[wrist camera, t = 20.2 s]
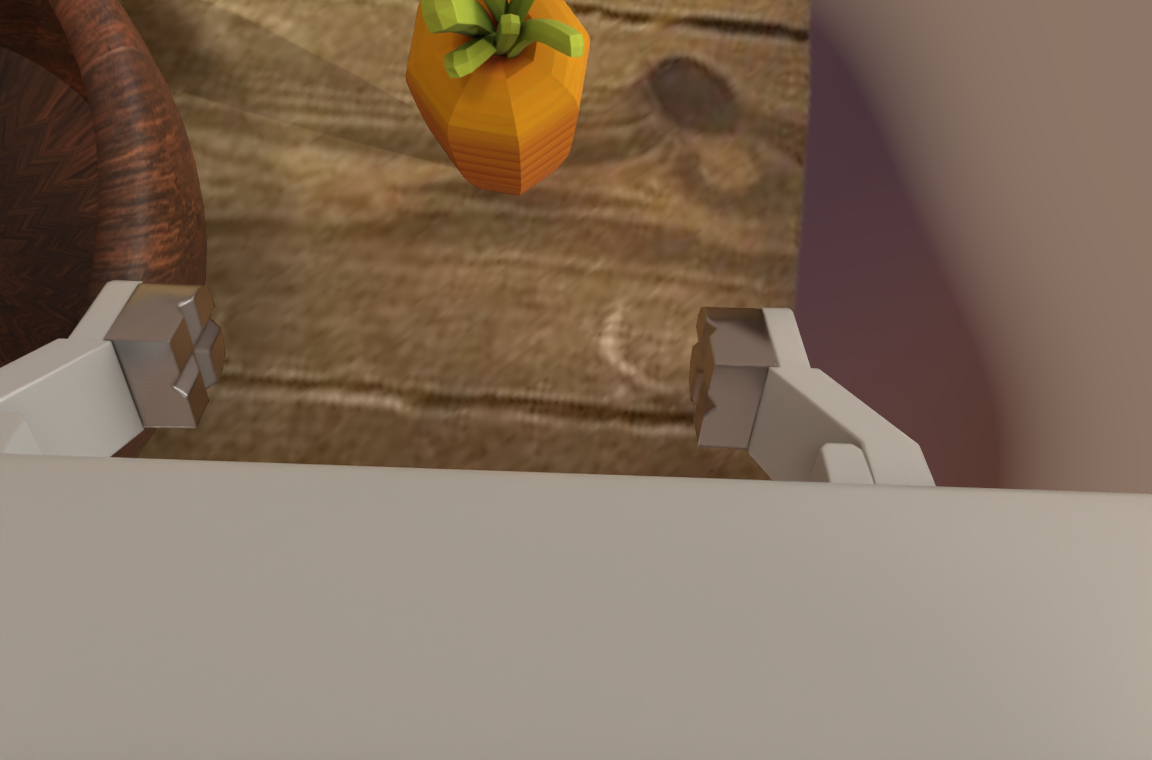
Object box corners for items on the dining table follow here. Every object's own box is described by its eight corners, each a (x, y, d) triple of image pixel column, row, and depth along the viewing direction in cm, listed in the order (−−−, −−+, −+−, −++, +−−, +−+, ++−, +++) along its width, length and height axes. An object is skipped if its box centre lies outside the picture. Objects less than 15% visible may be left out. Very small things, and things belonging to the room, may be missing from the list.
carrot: (560, 96, 34) (577, -177, 19) (590, 222, 33) (631, 48, 18) (431, 123, 33) (343, -131, 18) (460, 251, 33) (395, 98, 18)
